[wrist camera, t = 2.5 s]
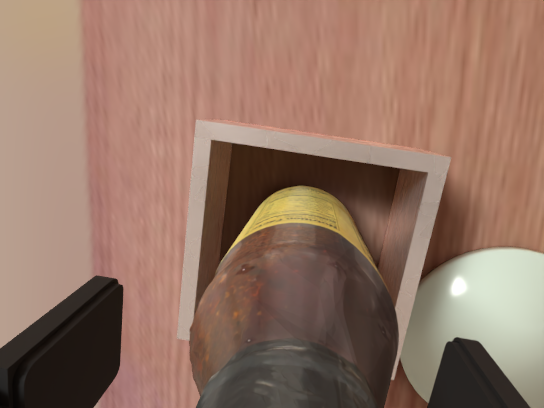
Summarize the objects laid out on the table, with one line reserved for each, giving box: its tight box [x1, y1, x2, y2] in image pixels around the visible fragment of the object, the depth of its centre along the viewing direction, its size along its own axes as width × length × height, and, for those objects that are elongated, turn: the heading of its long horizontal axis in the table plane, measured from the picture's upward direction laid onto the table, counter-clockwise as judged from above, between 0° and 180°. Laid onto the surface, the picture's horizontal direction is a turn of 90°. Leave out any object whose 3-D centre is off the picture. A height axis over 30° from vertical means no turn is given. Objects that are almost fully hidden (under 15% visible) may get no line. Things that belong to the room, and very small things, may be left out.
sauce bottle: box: [189, 185, 399, 408], centre depth 13 cm, size 6×6×20 cm
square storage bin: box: [177, 119, 451, 380], centre depth 20 cm, size 12×12×5 cm
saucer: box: [400, 246, 544, 408], centre depth 23 cm, size 12×12×1 cm
